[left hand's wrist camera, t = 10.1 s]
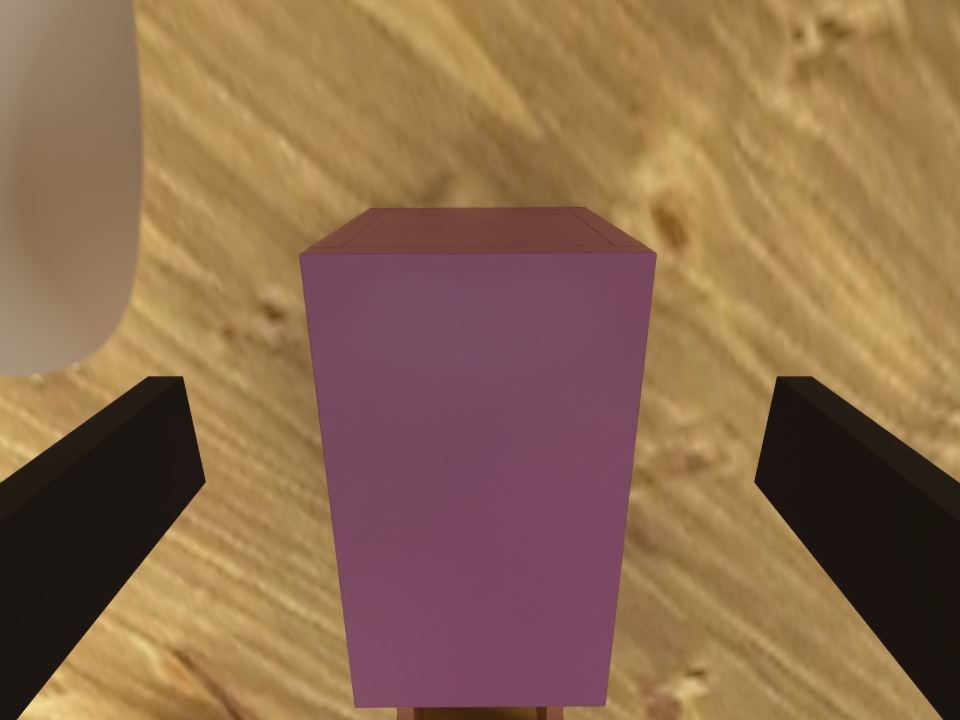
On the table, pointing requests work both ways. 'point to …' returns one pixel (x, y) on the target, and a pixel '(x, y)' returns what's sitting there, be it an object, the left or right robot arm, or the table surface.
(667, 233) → the table surface
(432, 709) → the drawer
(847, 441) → the left robot arm
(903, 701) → the table surface
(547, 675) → the purple rectangular block
